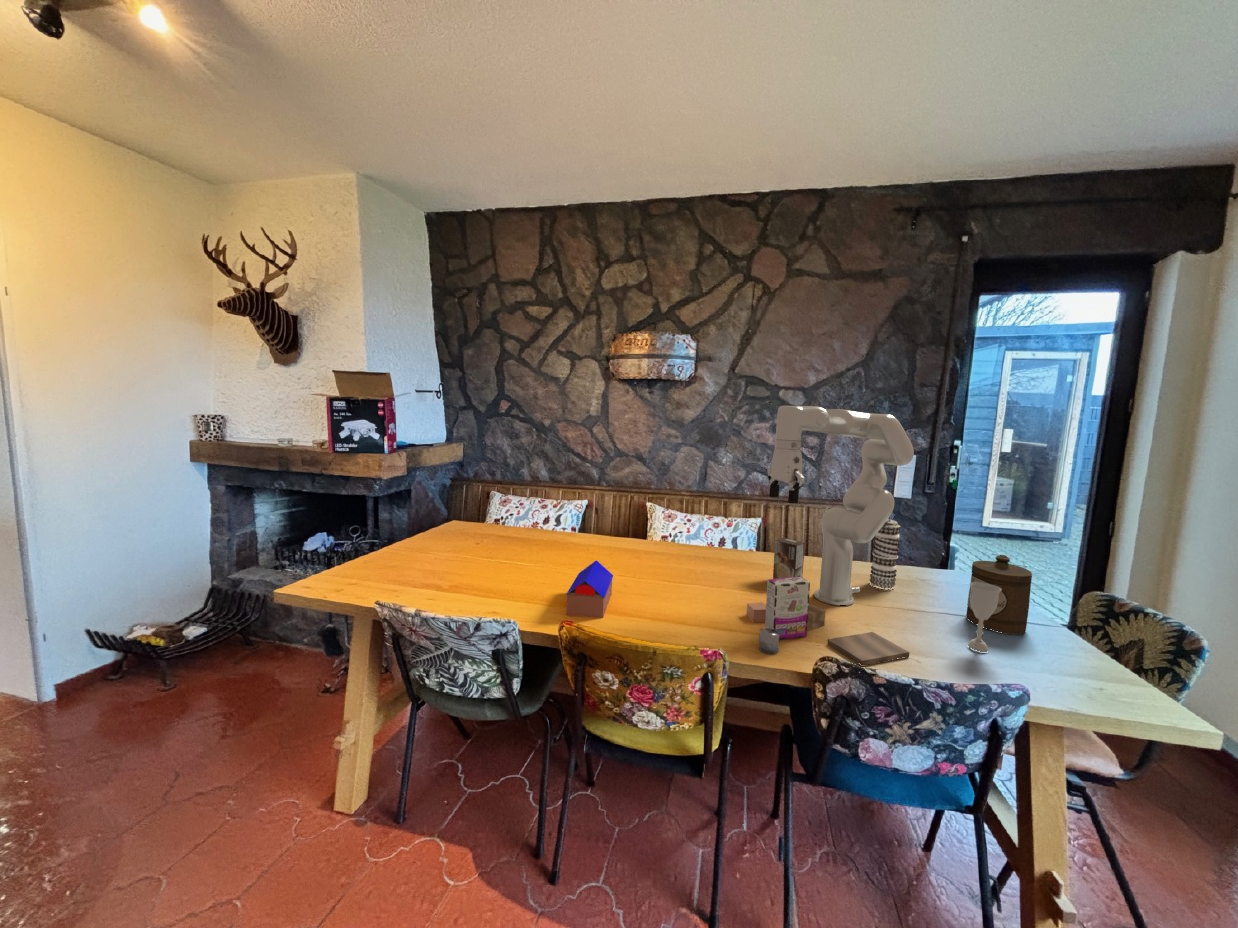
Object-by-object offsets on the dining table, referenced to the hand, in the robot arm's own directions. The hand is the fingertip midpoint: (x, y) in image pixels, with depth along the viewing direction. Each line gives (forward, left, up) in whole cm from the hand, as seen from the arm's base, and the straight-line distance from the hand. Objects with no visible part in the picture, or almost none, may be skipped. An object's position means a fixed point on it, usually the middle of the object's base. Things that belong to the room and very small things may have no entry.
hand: (783, 499), depth 155 cm
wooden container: (-60, +28, -36) cm, 76 cm away
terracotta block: (+10, +4, -36) cm, 38 cm away
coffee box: (-19, -19, -36) cm, 45 cm away
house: (+56, -20, -37) cm, 70 cm away
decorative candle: (-52, -7, -36) cm, 64 cm away
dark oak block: (-3, +12, -36) cm, 38 cm away
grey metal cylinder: (+19, +22, -36) cm, 46 cm away
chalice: (-38, +38, -36) cm, 65 cm away
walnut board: (-7, +30, -36) cm, 47 cm away
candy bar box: (+9, +16, -36) cm, 41 cm away
